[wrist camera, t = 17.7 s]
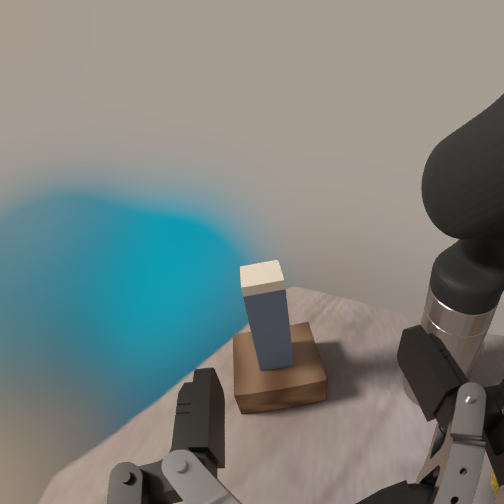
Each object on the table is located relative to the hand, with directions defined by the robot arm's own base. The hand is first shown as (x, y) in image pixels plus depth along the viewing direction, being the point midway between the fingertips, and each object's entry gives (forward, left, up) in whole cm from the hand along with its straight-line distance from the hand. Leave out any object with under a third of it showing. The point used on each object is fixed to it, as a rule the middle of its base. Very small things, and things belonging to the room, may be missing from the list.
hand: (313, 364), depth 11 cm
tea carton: (+2, -20, -21) cm, 30 cm away
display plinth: (+1, -21, -26) cm, 33 cm away
